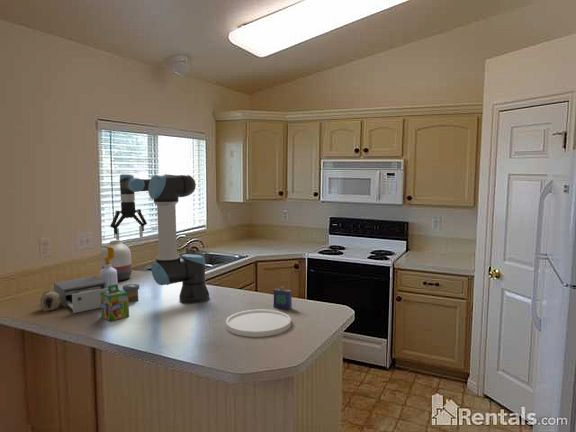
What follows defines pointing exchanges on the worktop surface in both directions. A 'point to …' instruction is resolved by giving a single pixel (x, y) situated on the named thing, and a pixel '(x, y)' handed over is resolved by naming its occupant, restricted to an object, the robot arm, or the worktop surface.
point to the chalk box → (114, 304)
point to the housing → (76, 287)
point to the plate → (258, 323)
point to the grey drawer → (85, 298)
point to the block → (132, 295)
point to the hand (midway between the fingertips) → (129, 238)
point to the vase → (119, 259)
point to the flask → (282, 298)
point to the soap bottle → (109, 270)
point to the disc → (130, 287)
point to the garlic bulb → (50, 300)
